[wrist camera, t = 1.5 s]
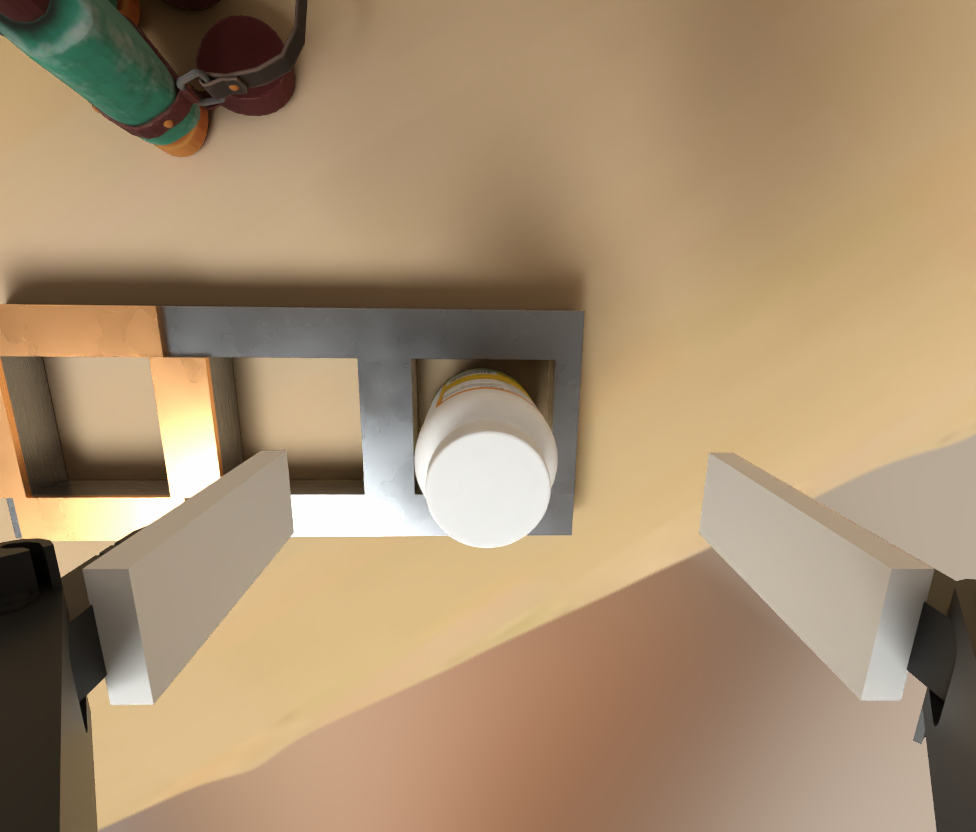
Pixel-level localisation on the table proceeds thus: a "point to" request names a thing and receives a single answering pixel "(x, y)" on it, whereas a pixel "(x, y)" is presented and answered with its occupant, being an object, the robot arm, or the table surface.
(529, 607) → the table surface
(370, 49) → the table surface
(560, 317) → the hole rail
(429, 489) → the supplement bottle
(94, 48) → the binoculars
